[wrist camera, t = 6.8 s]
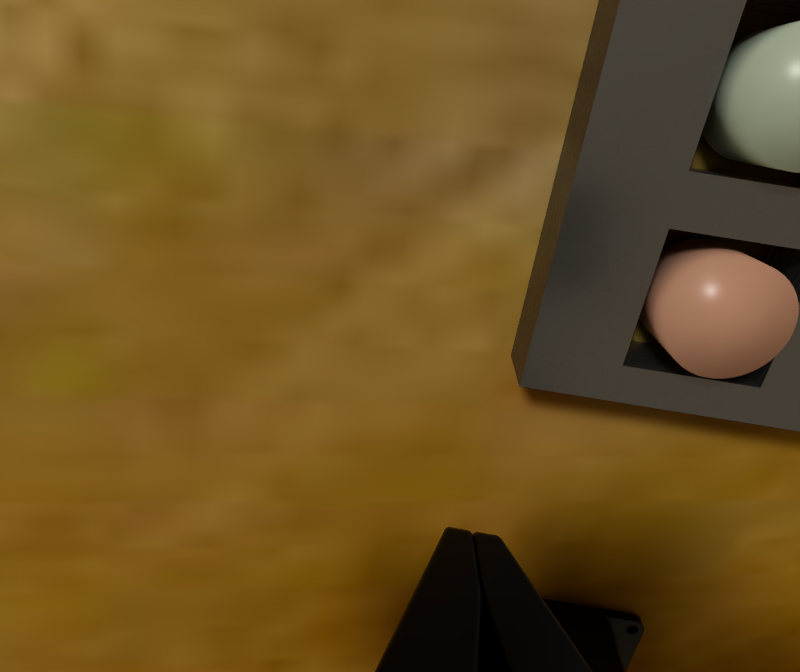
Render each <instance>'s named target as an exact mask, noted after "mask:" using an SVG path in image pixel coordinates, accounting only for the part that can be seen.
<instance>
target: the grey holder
mask: <svg viewBox="0 0 800 672" xmlns="http://www.w3.org/2000/svg"><path fill="white" fill-rule="evenodd" d="M744 7H745V8H751V9H758V10H764V11H771V12H777V13H784V14H790V15H796V16H800V0H599V3H598V7H597V11H596V15H595V19H594V23H593V27H592V31H591V35H590V39H589V43H588V47H587V51H586V55H585V59H584V63H583V67H582V71H581V75H580V79H579V83H578V87H577V91H576V95H575V99H574V103H573V108H572V112H571V116H570V120H569V124H568V128H567V132H566V136H565V140H564V144H563V148H562V152H561V156H560V160H559V164H558V168H557V172H556V176H555V180H554V184H553V188H552V192H551V196H550V200H549V204H548V208H547V212H546V216H545V220H544V224H543V228H542V232H541V237H540V241H539V245H538V249H537V253H536V257H535V261H534V265H533V269H532V273H531V277H530V281H529V285H528V289H527V293H526V297H525V301H524V305H523V309H522V313H521V317H520V321H519V325H518V329H517V333H516V337H515V341H514V345H513V349H512V353H511V357H512V361H513V365H514V368H515V372H516V376H517V379H518V383H519V386H520V387H526V388H533V389H539V390H545V391H551V392H557V393H564V394H570V395H576V396H582V397H588V398H595V399H601V400H607V401H613V402H619V403H626V404H632V405H638V406H644V407H650V408H657V409H663V410H669V411H675V412H681V413H688V414H694V415H700V416H706V417H713V418H719V419H725V420H731V421H737V422H744V423H750V424H756V425H762V426H768V427H775V428H781V429H787V430H793V431H799V432H800V177H799V180H798V182H797V184H790V183H784V182H777V181H771V180H765V179H758V178H752V177H746V176H739V175H733V174H727V173H720V172H714V171H708V170H701V169H695V168H690V166H691V163H692V160H693V157H694V154H695V151H696V148H697V145H698V142H699V139H700V136H701V133H702V130H703V128H704V125H705V122H706V119H707V116H708V113H709V110H710V107H711V104H712V101H713V98H714V95H715V92H716V89H717V86H718V83H719V80H720V77H721V75H722V72H723V69H724V66H725V63H726V60H727V57H728V54H729V51H730V48H731V45H732V42H733V39H734V36H735V33H736V30H737V27H738V24H739V22H740V19H741V16H742V13H743V10H744ZM669 229H674V230H680V231H687V232H693V233H699V234H706V235H712V236H718V237H725V238H731V239H737V240H743V241H750V242H756V243H762V244H769V245H771V247H770V249H769V251H768V254H767V256H766V258H765V261H764V263H765V264H767V265H769V266H771V267H773V268H774V269H776V270H778V271H779V272H781V273H782V274H783V275H784V276H785V277H786V278H787V279H788V280H789V281H790V283H791V284H792V286H793V287H794V289H795V292H796V294H797V298H798V305H799V313H798V320H797V324H796V327H795V329H794V332H793V334H792V336H791V338H790V340H789V341H788V343H787V344H786V345H785V347H784V348H783V349H782V350H781V351H780V352H779V354H777V355H776V356H775V357H774V358H773V359H772V360H771V361H769V362H768V363H766V364H765V365H763V366H762V367H760V368H758V369H756V370H754V371H752V372H750V373H747V374H744V375H741V376H737V377H733V378H725V379H714V378H706V377H702V376H699V375H696V374H693V373H691V372H689V371H687V370H686V369H685V368H683V367H682V366H681V365H680V364H679V363H678V362H677V361H676V360H675V359H674V358H673V357H672V356H671V355H670V354H669V353H668V352H667V351H666V349H665V348H664V347H663V346H660V345H654V344H647V343H641V342H635V341H631V340H632V337H633V334H634V331H635V328H636V325H637V322H638V319H639V316H640V313H641V310H642V307H643V304H644V301H645V298H646V295H647V292H648V289H649V287H650V284H651V281H652V278H653V275H654V272H655V269H656V266H657V263H658V260H659V257H660V254H661V251H662V248H663V245H664V242H665V239H666V236H667V234H668V231H669Z"/></svg>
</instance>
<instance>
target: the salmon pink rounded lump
mask: <svg viewBox="0 0 800 672" xmlns="http://www.w3.org/2000/svg"><path fill="white" fill-rule="evenodd" d="M798 313H799V305H798V298H797V294H796V292H795V289H794V287H793V286H792V284H791V283H790V281H789V280H788V279H787V278H786V277H785V276H784V275H783V274H782V273H781V272H779V271H778V270H776V269H774V268H773V267H771V266H769V265H767V264H765V263H763V262H760V261H758V260H756V259H754V258H752V257H750V256H748V255H746V254H744V253H742V252H740V251H738V250H736V249H734V248H732V247H730V246H728V245H726V244H724V243H722V242H719V241H716V240H712V239H703V238H701V239H690V240H685V241H682V242H678V243H676V244H674V245H671V246H669V247H668V248H666V249H664V250H663V251H661V254H660V257H659V260H658V263H657V266H656V269H655V272H654V275H653V278H652V281H651V284H650V287H649V289H648V292H647V295H646V298H645V301H644V304H643V307H642V310H641V313H640V316H639V319H640V321H641V322H642V324H643V325H644V326H645V328H646V329H647V330H648V331H649V332H650V333H651V334H652V335H653V336H654V337H655V339H656V340H657V341H658V342H659V343H660V344H661V345H662V346H663V347H664V348H665V349H666V351H667V352H668V353H669V354H670V355H671V356H672V357H673V358H674V359H675V360H676V361H677V362H678V363H679V364H680V365H681V366H682V367H683V368H685V369H686V370H687V371H689V372H691V373H693V374H696V375H699V376H702V377H706V378H714V379H725V378H733V377H737V376H741V375H744V374H747V373H750V372H752V371H754V370H756V369H758V368H760V367H762V366H763V365H765V364H766V363H768V362H769V361H771V360H772V359H773V358H774V357H775V356H776V355H777V354H779V352H780V351H781V350H782V349H783V348H784V347H785V345H786V344H787V343H788V341H789V340H790V338H791V336H792V334H793V332H794V329H795V327H796V324H797V320H798Z"/></svg>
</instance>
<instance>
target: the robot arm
mask: <svg viewBox="0 0 800 672" xmlns="http://www.w3.org/2000/svg"><path fill="white" fill-rule="evenodd" d="M643 632H644V627H643V624H642V622H641V619H640V617H639V616H637V615H635V614H631V613H625V612H618V611H612V610H606V609H600V608H594V607H588V606H582V605H576V604H570V603H564V602H557V601H551V600H545V599H542V597H541V596H540V594H539V593H538V592H537V590H536V589H535V587H534V586H533V584H532V583H531V581H530V580H529V578H528V577H527V576H526V574H525V573H524V571H523V570H522V568H521V567H520V565H519V564H518V562H517V561H516V559H515V558H514V557H513V555H512V554H511V552H510V551H509V549H508V548H507V546H506V545H505V543H504V542H503V541H502V539H501V538H500V537H499V536H496V535H492V534H486V533H480V532H475V533H473V534H472V533H471V532H470V531H468V530H464V529H458V528H452V527H448V528H446V529H445V530H444V532H443V534H442V536H441V538H440V540H439V543H438V545H437V547H436V549H435V551H434V553H433V555H432V557H431V559H430V561H429V563H428V565H427V567H426V569H425V571H424V573H423V575H422V577H421V579H420V581H419V583H418V585H417V587H416V589H415V591H414V593H413V595H412V597H411V599H410V601H409V603H408V605H407V608H406V610H405V612H404V614H403V616H402V618H401V620H400V622H399V624H398V626H397V628H396V630H395V632H394V634H393V636H392V638H391V640H390V642H389V644H388V646H387V648H386V650H385V652H384V654H383V656H382V658H381V660H380V662H379V664H378V666H377V668H376V671H375V672H626V669H627V667H628V665H629V663H630V661H631V658H632V656H633V654H634V652H635V650H636V647H637V645H638V643H639V641H640V638H641V636H642V634H643Z"/></svg>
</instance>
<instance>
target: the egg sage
mask: <svg viewBox="0 0 800 672" xmlns="http://www.w3.org/2000/svg"><path fill="white" fill-rule="evenodd" d="M702 135H703V137H704V139H705V140H706V142H707V143H708V144H709V146H710V147H711V148H712V149H713V150H714V151H716V152H717V153H718V154H720V155H721V156H723V157H725V158H728V159H730V160H733V161H738V162H743V163H748V164H753V165H758V166H763V167H768V168H773V169H779V170H784V171H789V172H795V173H800V21H796V22H792V23H788V24H783V25H779V26H775V27H771V28H766V29H762V30H759V31H756V32H753V33H751V34H749V35H747V36H745V37H743V38H741V39H740V40H738V41H737V42H735V43H734V44H733V45H731V48H730V51H729V54H728V57H727V60H726V63H725V66H724V69H723V72H722V75H721V77H720V80H719V83H718V86H717V89H716V92H715V95H714V98H713V101H712V104H711V107H710V110H709V113H708V116H707V119H706V122H705V125H704V128H703V130H702Z"/></svg>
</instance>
